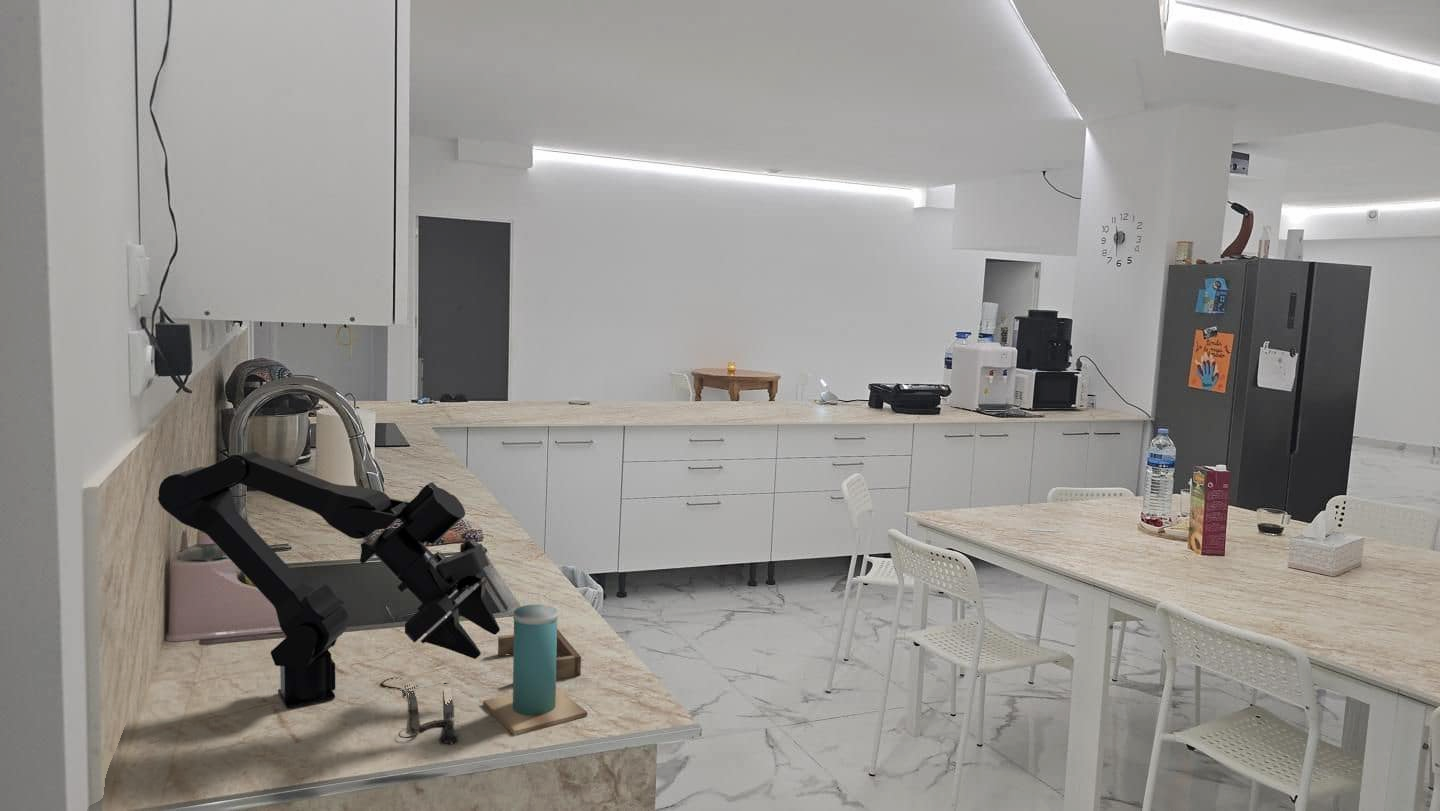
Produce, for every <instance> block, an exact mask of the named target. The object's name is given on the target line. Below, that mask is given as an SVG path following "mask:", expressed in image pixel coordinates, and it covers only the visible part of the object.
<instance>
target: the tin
mask: <svg viewBox="0 0 1440 811" xmlns="http://www.w3.org/2000/svg"><path fill="white" fill-rule="evenodd" d="M558 617H559V610H558V608H556V607H555V606H553V605H549V604H542V603H536V604H535V603H534V604H527V605H522V606H519V607H516V608H515V609H514V610H513V635H514V654H512V656H513V658H512V660H513V662H512V664H513V668H512V670H513V671H512V677H513V678H512V694H513V710H514V711H515V712H517V713H519V714H522V715H529V716H534V715H542V714H546V713H548V712H550V711H552V710H553V709H554V708H555V703H556V687H557V679H556V658H557V629H558Z"/></svg>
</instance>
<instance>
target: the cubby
mask: <svg viewBox="0 0 1440 811" xmlns="http://www.w3.org/2000/svg"><path fill="white" fill-rule="evenodd" d="M497 640H498V641H497V655H498V654H499V655H498V656H499V657H501V656H500V655H505V656H507V655H506V654H512V655H514V634H508V635H499V636H498V637H497ZM556 656H558V657H556V680H559V679H565V678H569V677H570V678H571V677H577V676H581V675H582V674H581V672H582V667H581V666H582V656H581V655H580V654H579V652H577V650H576V649H575V648H574V647H573V646H572V645H571V643H570V642H569V641H568V640H567V639H566V637H565V636H564V634H562V632H561V631H560V630H559V629H558V628H557V654H556Z"/></svg>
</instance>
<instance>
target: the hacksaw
mask: <svg viewBox="0 0 1440 811" xmlns="http://www.w3.org/2000/svg"><path fill="white" fill-rule="evenodd" d="M393 678H394V677H390V678H387V679H386V678H385V679H384V680H382V681H381V683H380V686H381V687H382V688H385V687H388V688H387V689H391V688H397V689H396V690H398V689H402V688H401V687H398V686H397V687H396V686H390V685H386V684H384V683H385V681H386V682H387V680H388V681H390V680H389V679H391V680H394V679H393ZM395 678H396V679H395V680H398V679H397V678H398V677H395ZM399 678H400V679H399V680H402V678H401V677H399ZM406 685H407V684H406ZM410 685H411V684H409V686H410ZM417 686H419V685H416V687H417ZM405 687H406V686H405V685H404V688H405ZM407 687H408V685H407ZM409 689H410V690H411V688H408V689H407V690H408V691H407V690H405V689H403V690H402V691H404V690H405V691H404V696H406V695H407V692H408V693H409V700H410V701H409V700H408V705H410V707H408V708H410V709H409V710H408V711H410V712H409V730H410V731H412V732H414V734H411V735H409V736H404V735H401V734H400V733H401V732H403V731H404V730H405V728H403V729H401V730H400V731H399V732H398V737H400V738H402V739H411V738H415V737H417V736H418V735H419V734H420V733H421V732H422V731H425V730H427V729H429V728H433V727H438V726H444V731H443V733H442V734H441V735H440V736H439V738H438V739H439V740H438V741H439V742H440V744H441V745H444V744H448V745H452V744H451V743H453V744H456V743H457V742H458V737H459V736H458V735H457V734H456V733H455V729H454V728H455V727H454V726H455V723H454V722H455V721H454V718H455V711H454V710H455V709H454V700H451V701H450V700H449V701H450V703H448V702H447V704H448V705H447V704H445V705H444V704H443V705H444V716H445V719H438V720H436V719H433V720H432V721H428V722H424V723H422V724H421V723H420V722H421V721H420V715H419V706H418V701H417V700H418V699H417V696H415V695H416V693H415V691H413V690H414V689H416V688H415V686H414V689H413V687H412V689H413V690H412V691H409ZM402 691H401V692H402ZM412 692H413V693H412ZM409 702H410V704H409Z"/></svg>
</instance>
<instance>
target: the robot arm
mask: <svg viewBox="0 0 1440 811" xmlns="http://www.w3.org/2000/svg"><path fill="white" fill-rule="evenodd" d="M240 484H241V485H243V486H247V487H250V488H252V489H253V490H254V489H255V490H257V491H259V492H261V493H265V494H266V495H270V496H273V497H274V498H278V499H280V500H282V501H286V502H288V503H289V504H294V505H296V506H298V507H300V508H304V509H306V510H309V511H310V512H313V513H315V514H317V515H319V516H321V518H322V519H323V520H324V521H325V522H326V523H327V525H328V526H330V527H332V528H334V529H335V530H337V531H338V532H340V533H342V534H344V535H345V536H347V537H349V538H351V539H357V540H359V539H363V538H366V537H368V536H371V535H373V533H376V532H377V531H379V530H383V531H382V532H381V533H380V534H379V535H377V536H376V537H375V538H374V539H371V540H370V539H367V540H365V541H364V542H362V543H361V544H360V548H361V549H360V550H361V552H360V559H359V562H360V563H361V564H365V563H367V562H368V561H369V560H371V559H373V558H374V557H376V558H377V559H378V560H379V561H380V562H381V563H382V564H383V565H384V566H385V567H386V568H387V569H388V570H389V572H391V574H393V576H394V577H395V578H396V579H397V580H398V581H399V582H400V584H399V585H397V589H398V590H399V591H400V592H401V593H403V592H405V591H406V590H407V591H408V592H409V593H410V594H411V595H412V597H414V598H415V599H416V600H417V601H418V603H420V606H418V607H417V610H418V611H416V613H415V614H414V615H413V616H411V618H409V619H408V620H407V621H406V622H405V623H404V634H405V635H406V636H407V637H408V638H409V639H410V640H411V641H412V642H413V643H414V644H415V643H416V642H417V641H418V640H419V639H421V638H422V637H423V636H424V635H425V634H426V635H425V636H424V637H423V638H422V639H421V640H420V643H422V644H425V643H427V644H430V645H433V646H437V647H440V648H444V649H446V650H449V651H452V652H455V653H458V654H461V655H463V656H466V657H469V658H472V659H474V660H476V659H478V658H479V656H481V651H480V649H479V648H478V646H477V644H476V643H475V641H474V640H473V639H472V638H471V636H470V635H469V634H468V633H467V631H466V630H465V629H464V627H463V626H462V625H461V623H460V621H459V618H460V617H459V616H462V617H463V618H465V619H466V620H468V621H469V622H471V623H473V624H475V625H476V626H478V627H480V628H481V629H483V630H484V631H487V632H488V633H491V634H492V635H495V636H496V635H497V633H499V632H500V630H501V628H500V626H499V623H498V622H497V620H496V617H495V616H494V613H493V611H492V610H491V608H490V605H489V603H488V601H487V599H486V596H485V591H486V584H488V582H487V579H486V578H485V577H486V576H487V575H488V573H487V572H486V571H485V568H486V567H488V566H489V565H490V563H489V560H488V558H487V556H486V554H487V553H488V549H487V548H486V547H484V546H483V544H482V543H479V542H478V541H476V540H475V539H474V538H471V539H468V540H465V541H464V542H463V543H462V544H460V549H459V550H460V551H458V552H456V553H455V554H453V555H451V556H448V557H446V555H445V554H444V553H443V552H440V551H437V552H435V553H433V552H432V551H431V550H430V549H429V548H428V547H427V546H426V545H425V543H429V544H436V543H437V542H438V541H440V539H441V538H443V537H444V536H445V535H446V534H447V533H448V532H449V531H451V529H453V527H455V526H456V525H457V524H458V523H460V521H461V520H462V519H463V518H464V517H465V516H466V511H465V508H464V506H463V504H462V502H461V501H460V500H459V498H457V497H456V495H455V494H452V493H450V492H449V491H447V490H446V489H443V488H441V487H438V486H437V485H436V483H434V482H429V483H428V484H426V485H424V486H423V487H422V488H421V489H420V490H419V493H418V494H417V495H416V496H415V497H414V498H413V499H412V500H410V502H409V501H406V500H405V501H404V500H400V499H396V498H395V499H394V498H390V496H389V495H387V494H386V493H385V492H382V491H381V490H378V489H373V488H368V487H363V486H357V485H343V484H337V483H332V482H330V481H327V480H325V479H322V478H319V477H317V476H314V475H311V474H309V473H306V472H304V471H301V470H298V469H296V468H293V467H291V466H288V465H286V464H283V463H280V462H278V461H275V460H272V459H270V458H267V457H265V456H262V455H261V454H260V453H258V452H256V451H254V450H246V451H242V452H238V453H234V454H231V455H229V456H227V457H226V459H224V460H221V461H219V462H216V463H215V464H212V465H208V466H206V467H205V466H199V467H196V468H195V467H194V468H191V469H189V470H186V471H185V470H184V471H181V472H178V473H175V474H172V475H169V476H167V477H166V478H163V480H162V481H161V483H160V485H159V488H158V497H157V500H158V503H159V505H160V507H161V508H162V509H163V510H164V511H165V512H167V513H168V514H169V515H170V516H172V517H174V519H175V520H177V521H178V522H180V523H181V524H183V525H185V526H187V527H189V528H192V529H194V530H198V531H200V532H202V533H204V534H205V535H206V536H208V537H209V538H210V540H211V541H212V542H213V543H214V544H215V545H216V546H217V547H218V548H219V549H220V550H221V551H222V552H223V554H224V555H225V556H226V557H227V558H228V559H229V560H230V561H231V562H232V563H233V564H234V565H235V566H236V567H237V569H239V571H240V572H241V573H242V574H243V575H244V576H245V577H246V578H247V580H249V581H250V582H251V584H252V585H253V586H254V587H255V588H256V589H257V590H258V591H259V592H260V593H261V595H263V597H265V599H267V600H268V601H269V603H270V604H271V605H272V606H273V608H274V609H275V612H276V616H277V620H278V625H279V628H280V630H281V632H282V633H283V635H284V636H285V638H283V640H282V641H281V642H280V643H278V644H277V645H276V646H275V647H274V648H273V649H272V650H271V651H270V656H271V658H272V661H273V663H274V666H276V667H280V668H279V670H280V671H279V672H280V673H279V674H280V688H279V689H278V690H277V694H278V696H279V698H280V700H281V701H282V703H283V705H284V707H285V708H286V709H293V708H298V707H303V706H308V705H313V704H317V703H321V702H326V701H330V700H335V698H336V694H335V693H334V691H335V690H336V663H335V661H334V660H333V658H332V653H331V652H330V651H329V649H331V648H332V647H334V646H335V645H336V644H337V640H338V638H339V637H340V636H342V635H343V634H344V632H345V631H346V629H347V627H348V623H349V622H348V621H349V620H348V619H349V614H348V612H347V610H346V609H345V607H344V605H345V604H346V603H345V601H344V600H341V599H340V598H339V597H338V596H336V594H334V591H333V590H332V589H331V587H330V586H328V584H326V583H324V584H322V585H321V586H319V587H317V588H315V587H312V586H310V585H307V584H306V583H304V582H303V581H302V580H301V578H300V577H298V576H297V574H296V573H295V572H294V571H293V570H292V569H291V568H290V567H289V566H288V565H287V564H286V562H284V561H283V559H282V558H281V557H280V556H279V555H278V554H277V553H276V552H275V551H274V550H273V549H272V548H271V547H270V546H269V544H268V543H267V542H266V541H265V540H264V539H263V538H262V537H261V536H260V535H259V534H258V533H257V531H255V529H254V528H253V527H252V526H251V525H250V524H249V523H248V522H247V521H246V519H245V518H243V517H242V515H240V513H239V512H238V510H237V508H236V502H235V499H234V495H233V492H232V490H231V489H232V488H234V487H236V486H239V485H240ZM399 521H401V522H402V523H401V524H400V525H399V526H398V527H397V528H395V529H394V528H389V527H390V526H391V527H392V525H394V524H395V523H397V522H399ZM484 578H485V579H484ZM483 579H484V580H483ZM482 580H483V581H482ZM481 581H482V582H481ZM479 582H481V583H480V584H479ZM455 604H456V606H455ZM454 606H455V607H454ZM451 610H452V611H451Z"/></svg>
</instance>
